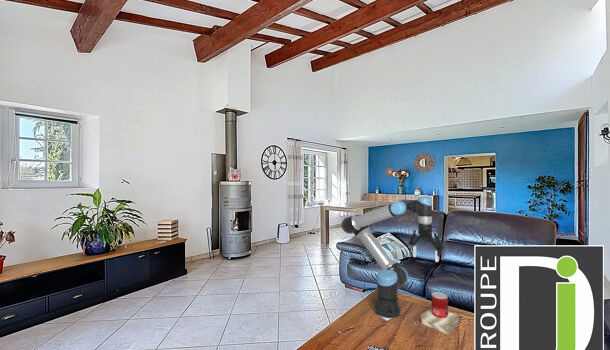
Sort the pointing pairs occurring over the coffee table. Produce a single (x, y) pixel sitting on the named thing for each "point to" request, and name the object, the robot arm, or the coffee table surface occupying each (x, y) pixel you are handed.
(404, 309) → the coffee table surface
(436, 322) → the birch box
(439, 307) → the canned food
